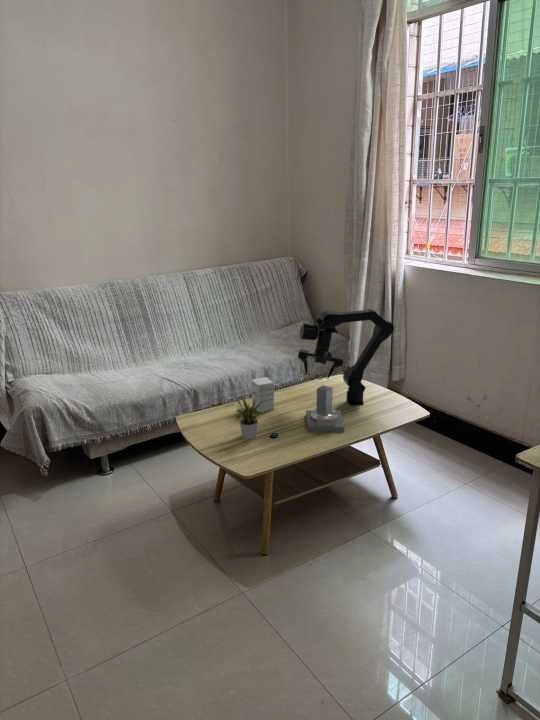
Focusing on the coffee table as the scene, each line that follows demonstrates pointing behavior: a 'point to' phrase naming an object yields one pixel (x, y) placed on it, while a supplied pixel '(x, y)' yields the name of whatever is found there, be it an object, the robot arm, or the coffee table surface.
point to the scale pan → (314, 415)
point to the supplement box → (263, 394)
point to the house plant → (248, 419)
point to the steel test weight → (324, 400)
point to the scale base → (324, 429)
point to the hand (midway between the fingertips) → (316, 376)
